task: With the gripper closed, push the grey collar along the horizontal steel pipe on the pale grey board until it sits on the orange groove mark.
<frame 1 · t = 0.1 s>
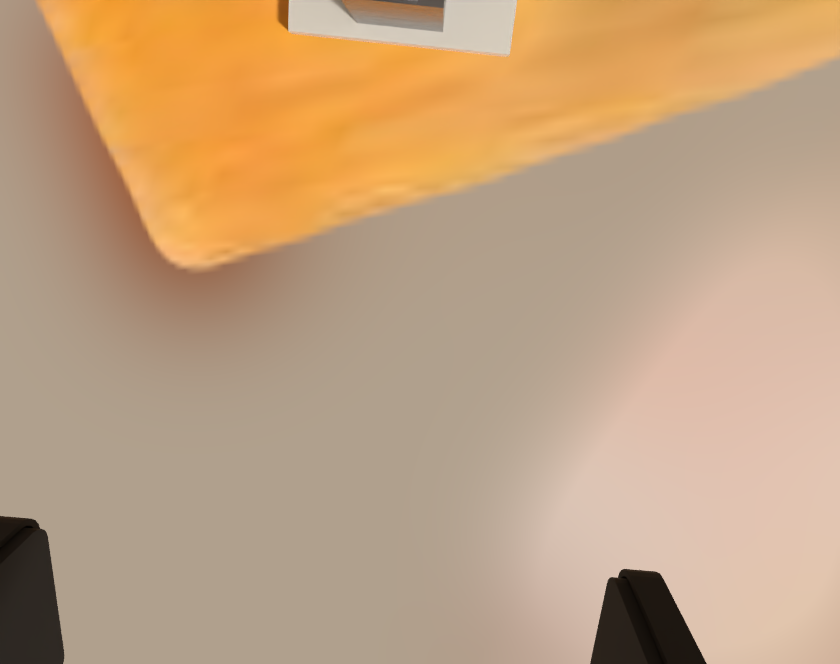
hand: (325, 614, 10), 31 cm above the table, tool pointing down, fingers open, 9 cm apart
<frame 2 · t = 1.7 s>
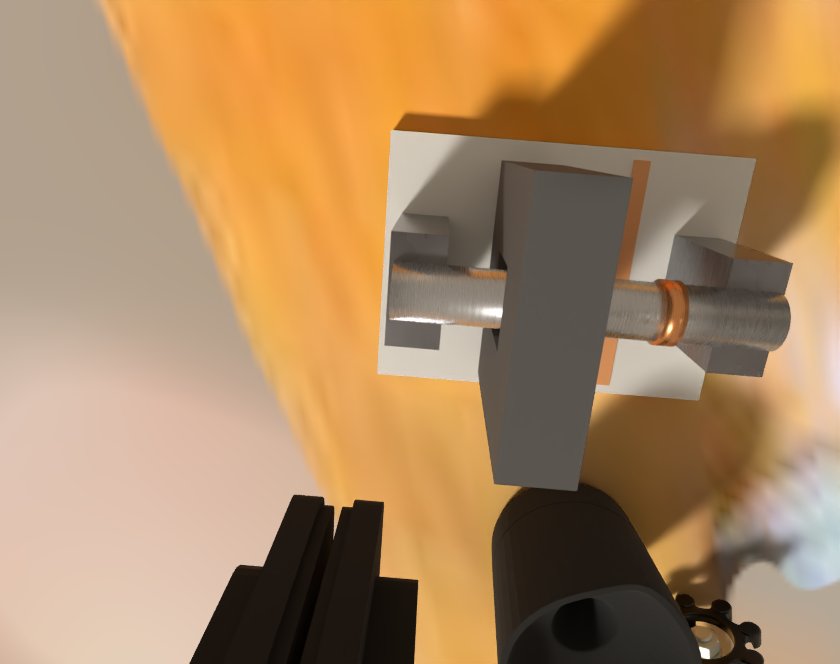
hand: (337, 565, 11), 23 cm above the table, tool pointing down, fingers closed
pen holder: (559, 535, 37), on the table
pipe: (569, 291, 27), on the base board, point 5 cm above the table
base board: (550, 269, 32), on the table
collar: (533, 302, 25), point 8 cm above the table, slide at 5.5 cm
valve: (684, 662, 40), on the table
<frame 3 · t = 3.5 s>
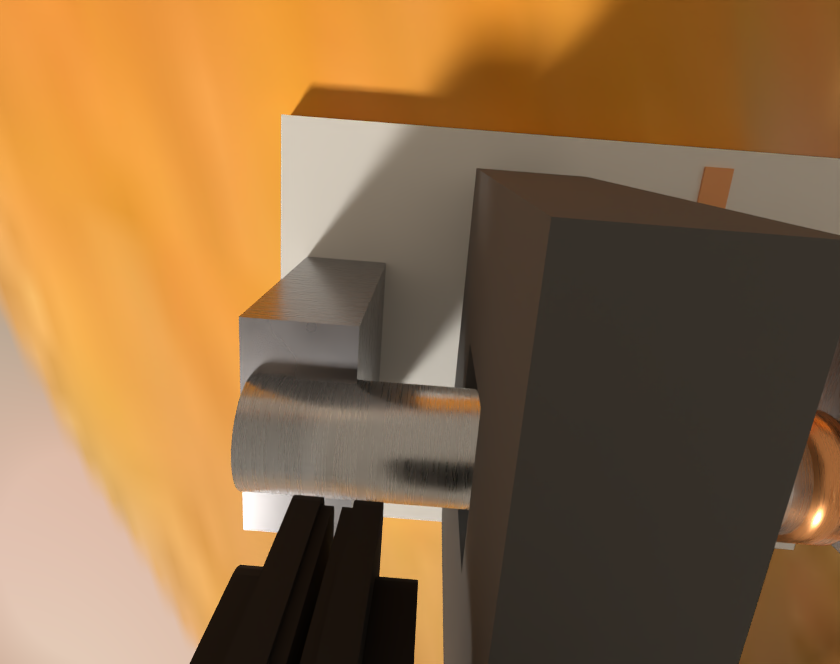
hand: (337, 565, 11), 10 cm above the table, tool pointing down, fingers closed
pipe: (596, 408, 15), on the base board, point 5 cm above the table
base board: (558, 344, 20), on the table
collar: (536, 453, 12), point 7 cm above the table, slide at 5.4 cm, touching gripper
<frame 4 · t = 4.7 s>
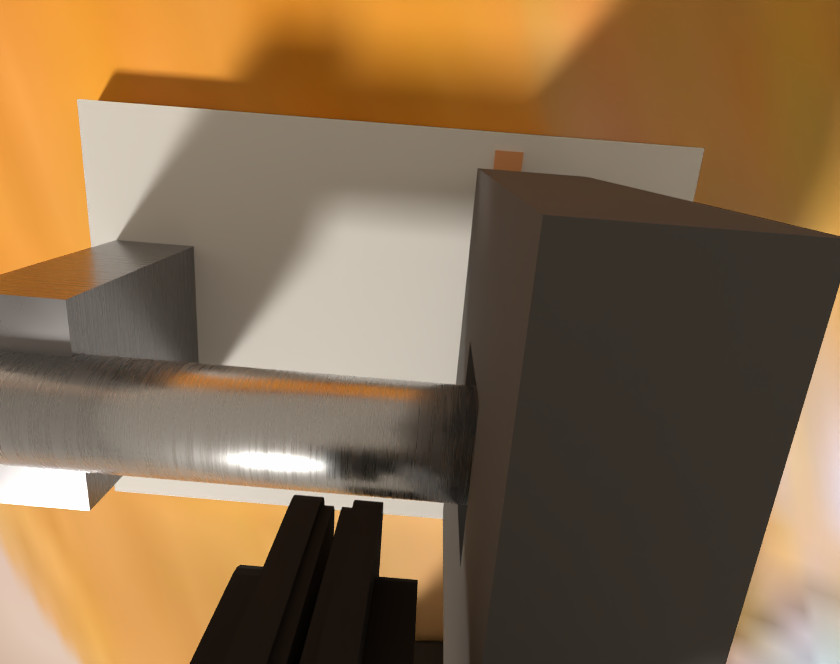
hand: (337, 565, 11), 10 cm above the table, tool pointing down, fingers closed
pipe: (361, 387, 15), on the base board, point 5 cm above the table
base board: (380, 329, 20), on the table
collar: (535, 449, 13), point 8 cm above the table, slide at -0.6 cm, touching gripper
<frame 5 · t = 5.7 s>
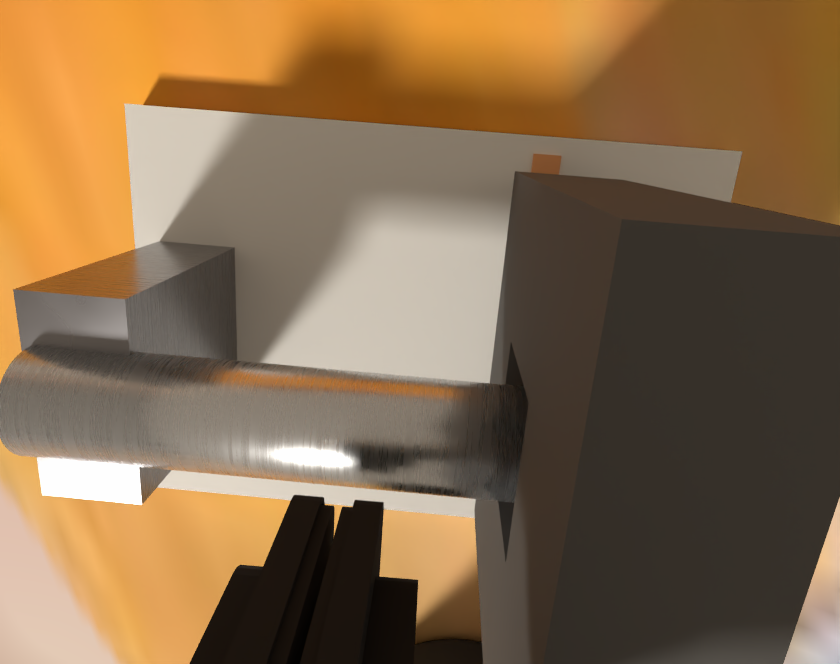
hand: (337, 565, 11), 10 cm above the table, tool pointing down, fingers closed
pipe: (403, 386, 15), on the base board, point 5 cm above the table
base board: (414, 329, 20), on the table
collar: (577, 449, 13), point 8 cm above the table, slide at -0.5 cm
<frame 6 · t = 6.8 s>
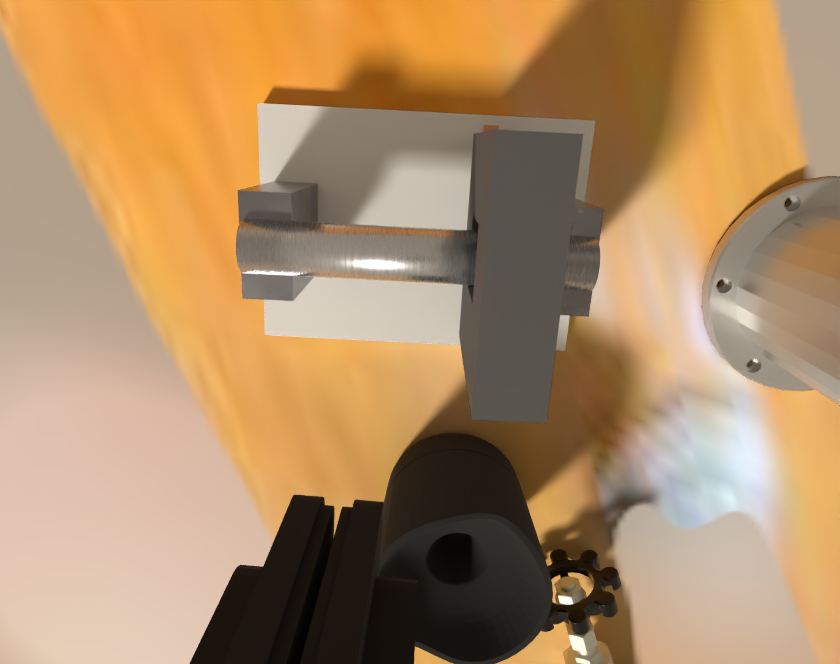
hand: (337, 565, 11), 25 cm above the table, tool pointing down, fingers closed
pen holder: (452, 486, 40), on the table
pipe: (419, 245, 30), on the base board, point 5 cm above the table
base board: (420, 231, 34), on the table
collar: (505, 259, 27), point 8 cm above the table, slide at -0.5 cm
valve: (574, 613, 43), on the table
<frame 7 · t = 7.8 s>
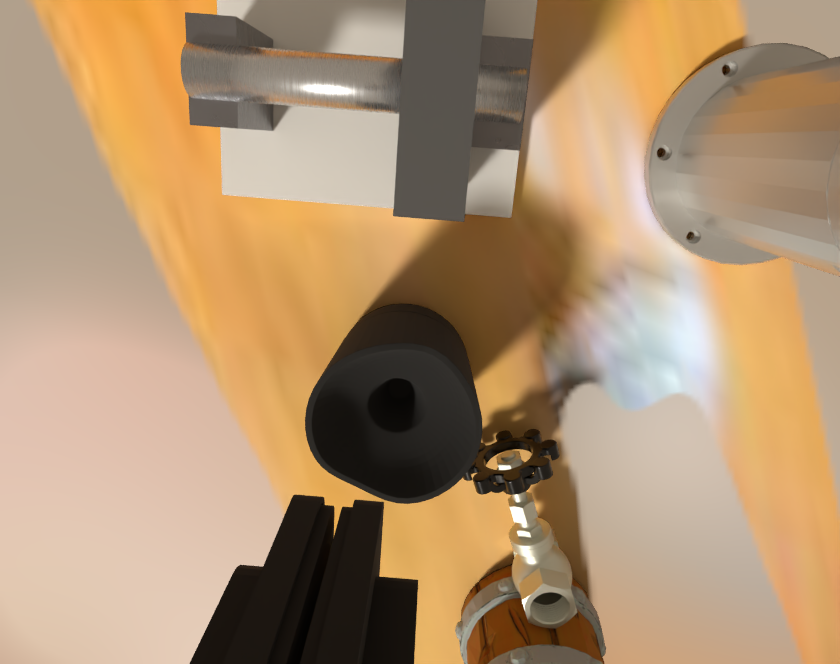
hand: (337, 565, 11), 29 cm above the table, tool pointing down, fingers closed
pen holder: (404, 361, 41), on the table
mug: (535, 637, 48), on the table, touching valve
pipe: (363, 87, 31), on the base board, point 5 cm above the table
base board: (373, 95, 36), on the table
collar: (439, 89, 28), point 8 cm above the table, slide at -0.5 cm
valve: (522, 498, 44), on the table, touching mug
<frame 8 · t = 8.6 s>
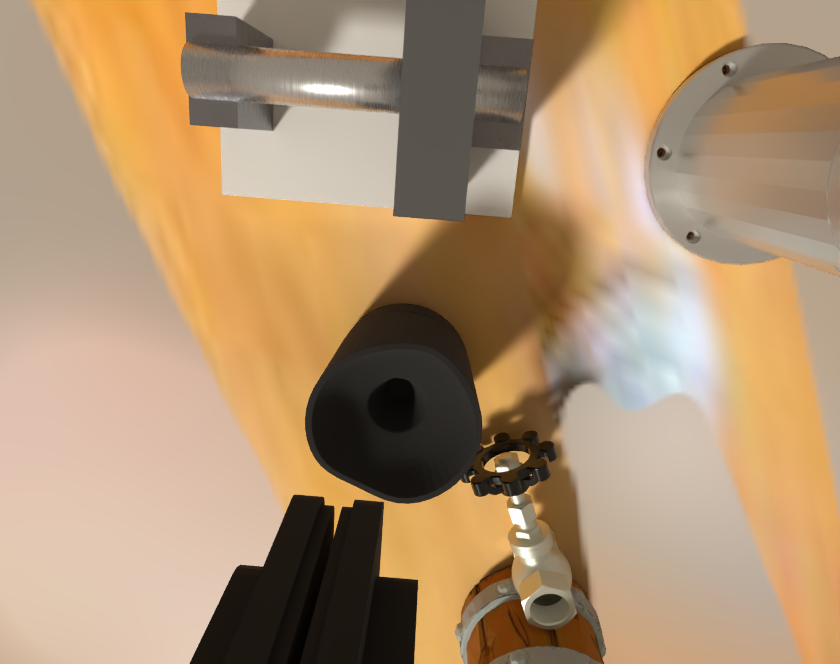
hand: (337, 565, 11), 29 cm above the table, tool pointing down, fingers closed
pen holder: (404, 361, 41), on the table
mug: (535, 638, 48), on the table
pipe: (363, 87, 31), on the base board, point 5 cm above the table
base board: (373, 95, 36), on the table
collar: (439, 89, 28), point 8 cm above the table, slide at -0.5 cm
valve: (521, 500, 44), on the table
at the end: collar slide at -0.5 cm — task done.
